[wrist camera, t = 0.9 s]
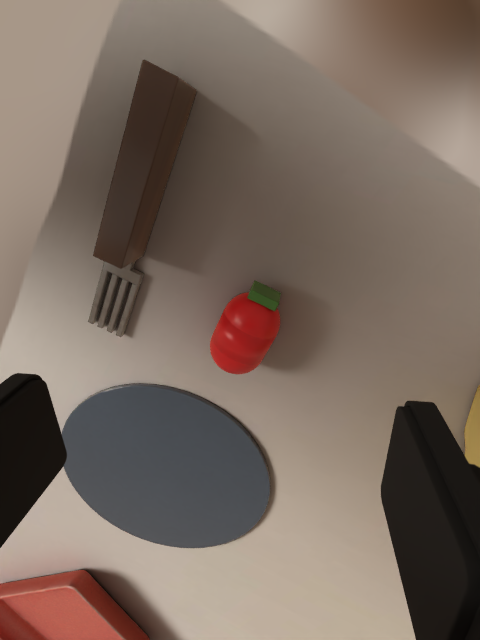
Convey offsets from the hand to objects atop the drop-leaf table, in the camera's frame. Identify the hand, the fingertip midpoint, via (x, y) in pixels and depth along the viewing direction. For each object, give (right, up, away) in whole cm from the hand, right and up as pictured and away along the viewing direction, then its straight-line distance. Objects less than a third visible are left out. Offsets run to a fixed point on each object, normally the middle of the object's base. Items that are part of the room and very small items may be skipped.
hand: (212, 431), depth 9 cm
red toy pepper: (+1, +3, +14) cm, 15 cm away
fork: (-6, +9, +13) cm, 17 cm away
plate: (-6, -11, +22) cm, 25 cm away
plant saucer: (-20, -33, +34) cm, 51 cm away
